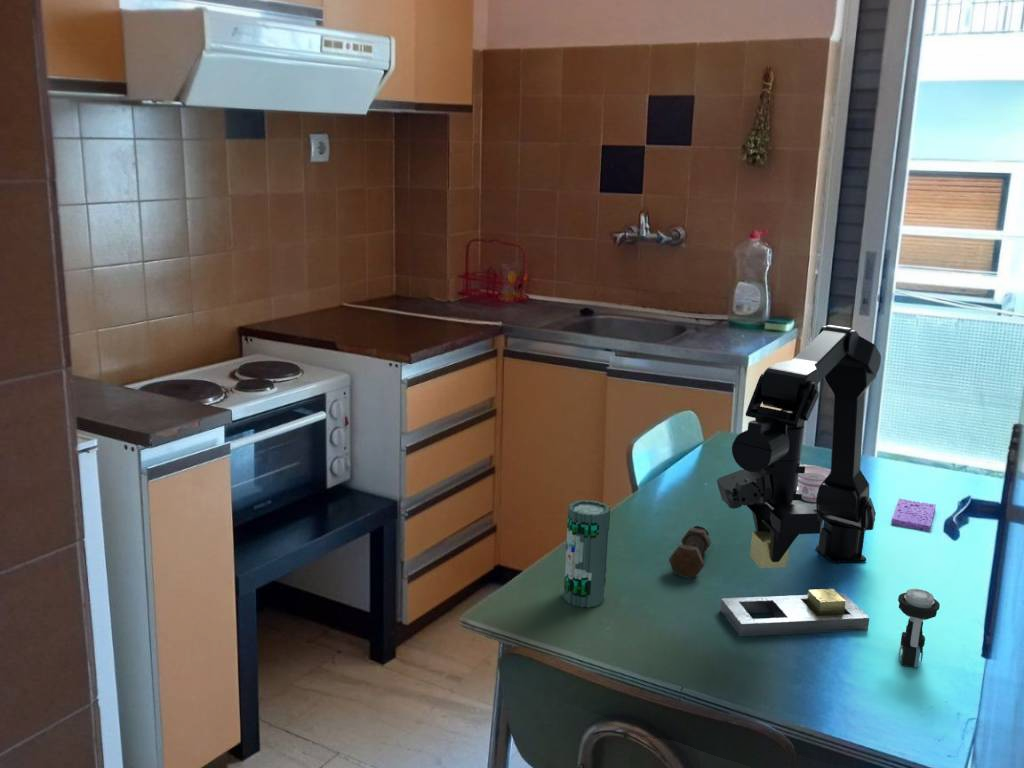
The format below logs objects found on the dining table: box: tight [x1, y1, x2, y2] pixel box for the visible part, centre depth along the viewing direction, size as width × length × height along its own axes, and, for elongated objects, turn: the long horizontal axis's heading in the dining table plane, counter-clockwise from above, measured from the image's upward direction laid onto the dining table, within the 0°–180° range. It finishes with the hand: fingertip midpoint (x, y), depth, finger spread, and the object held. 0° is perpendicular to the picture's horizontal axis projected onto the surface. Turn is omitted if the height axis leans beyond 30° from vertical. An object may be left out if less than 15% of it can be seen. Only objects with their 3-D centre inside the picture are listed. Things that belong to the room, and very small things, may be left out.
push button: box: [897, 588, 941, 669], centre depth 138 cm, size 7×5×10 cm
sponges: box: [891, 498, 936, 532], centre depth 192 cm, size 7×13×2 cm, turn 153°
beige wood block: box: [749, 530, 790, 569], centre depth 145 cm, size 4×4×4 cm
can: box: [563, 499, 611, 609], centre depth 152 cm, size 6×6×15 cm
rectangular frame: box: [719, 593, 870, 637], centre depth 149 cm, size 20×8×2 cm, turn 99°
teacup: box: [792, 464, 831, 511], centre depth 199 cm, size 12×12×6 cm
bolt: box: [668, 525, 712, 579], centre depth 169 cm, size 6×5×15 cm
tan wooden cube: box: [807, 588, 846, 616], centre depth 149 cm, size 4×4×4 cm
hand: (768, 555), depth 146 cm, fingers closed on beige wood block, 4 cm apart
